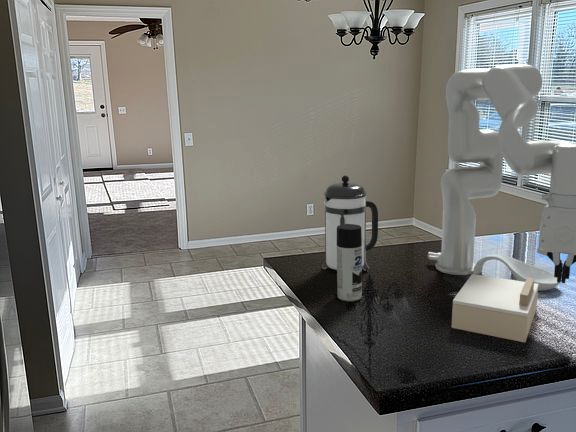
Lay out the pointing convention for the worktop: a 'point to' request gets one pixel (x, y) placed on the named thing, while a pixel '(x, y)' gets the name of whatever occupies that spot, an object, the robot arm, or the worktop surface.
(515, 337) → the box
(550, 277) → the spoon rest
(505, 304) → the lid
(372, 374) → the worktop surface
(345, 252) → the spray can
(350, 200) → the coffee press
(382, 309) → the worktop surface
